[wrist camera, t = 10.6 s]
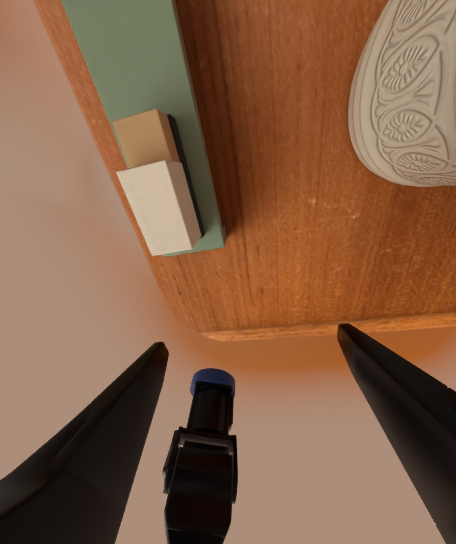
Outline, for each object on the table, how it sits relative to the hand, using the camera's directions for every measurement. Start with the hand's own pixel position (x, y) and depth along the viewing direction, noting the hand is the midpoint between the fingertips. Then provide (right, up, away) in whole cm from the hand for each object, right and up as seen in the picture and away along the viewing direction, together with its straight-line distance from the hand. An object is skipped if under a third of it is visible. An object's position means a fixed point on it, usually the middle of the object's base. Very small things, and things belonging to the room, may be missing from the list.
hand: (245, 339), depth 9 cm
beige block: (-5, +10, +5) cm, 12 cm away
